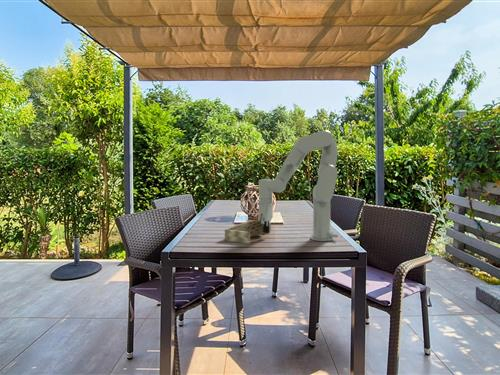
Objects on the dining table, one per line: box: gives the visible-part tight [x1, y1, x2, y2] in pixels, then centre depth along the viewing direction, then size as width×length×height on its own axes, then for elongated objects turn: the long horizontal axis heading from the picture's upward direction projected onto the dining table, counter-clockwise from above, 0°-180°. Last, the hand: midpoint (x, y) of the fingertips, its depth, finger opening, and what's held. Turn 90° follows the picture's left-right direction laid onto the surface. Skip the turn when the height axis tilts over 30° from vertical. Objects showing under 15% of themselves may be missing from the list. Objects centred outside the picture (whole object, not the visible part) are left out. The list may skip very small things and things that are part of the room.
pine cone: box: [231, 219, 264, 238], centre depth 189 cm, size 22×10×10 cm, turn 115°
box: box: [224, 220, 272, 244], centre depth 191 cm, size 16×28×6 cm, turn 152°
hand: (266, 232), depth 186 cm, fingers closed
